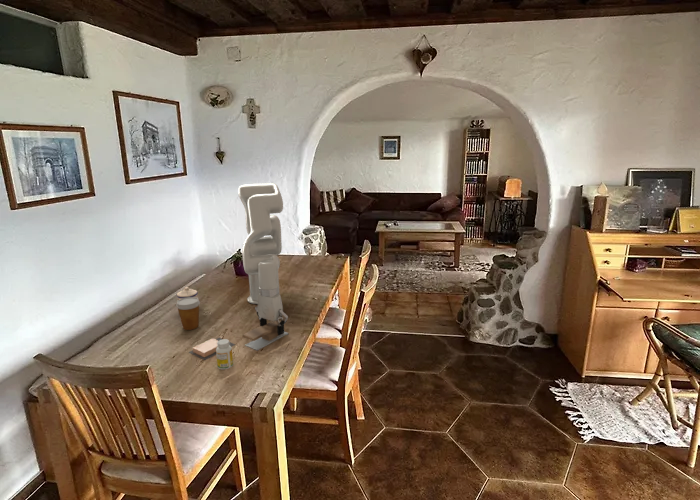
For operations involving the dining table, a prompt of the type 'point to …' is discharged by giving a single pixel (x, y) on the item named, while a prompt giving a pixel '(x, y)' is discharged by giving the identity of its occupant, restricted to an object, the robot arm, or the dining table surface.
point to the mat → (211, 354)
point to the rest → (263, 342)
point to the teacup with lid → (187, 293)
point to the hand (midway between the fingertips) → (272, 330)
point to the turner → (263, 332)
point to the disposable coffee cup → (189, 312)
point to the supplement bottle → (224, 354)
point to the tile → (206, 348)
